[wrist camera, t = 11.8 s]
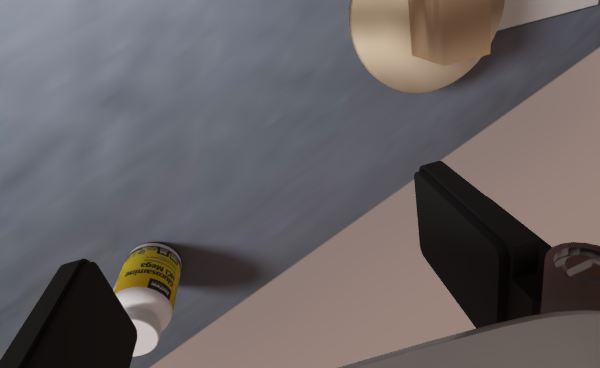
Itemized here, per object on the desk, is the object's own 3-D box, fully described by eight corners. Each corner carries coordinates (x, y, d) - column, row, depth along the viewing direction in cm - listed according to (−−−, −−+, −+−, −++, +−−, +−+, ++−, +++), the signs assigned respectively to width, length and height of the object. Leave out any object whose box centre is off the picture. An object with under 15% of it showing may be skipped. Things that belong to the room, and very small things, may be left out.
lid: (337, -62, 28) (363, -76, 22) (502, -101, 28) (568, -125, 23) (360, 106, 34) (385, 128, 28) (496, 71, 34) (547, 85, 29)
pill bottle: (188, 247, 43) (175, 319, 34) (175, 287, 46) (159, 366, 36) (131, 235, 42) (101, 308, 32) (121, 277, 44) (89, 358, 34)
